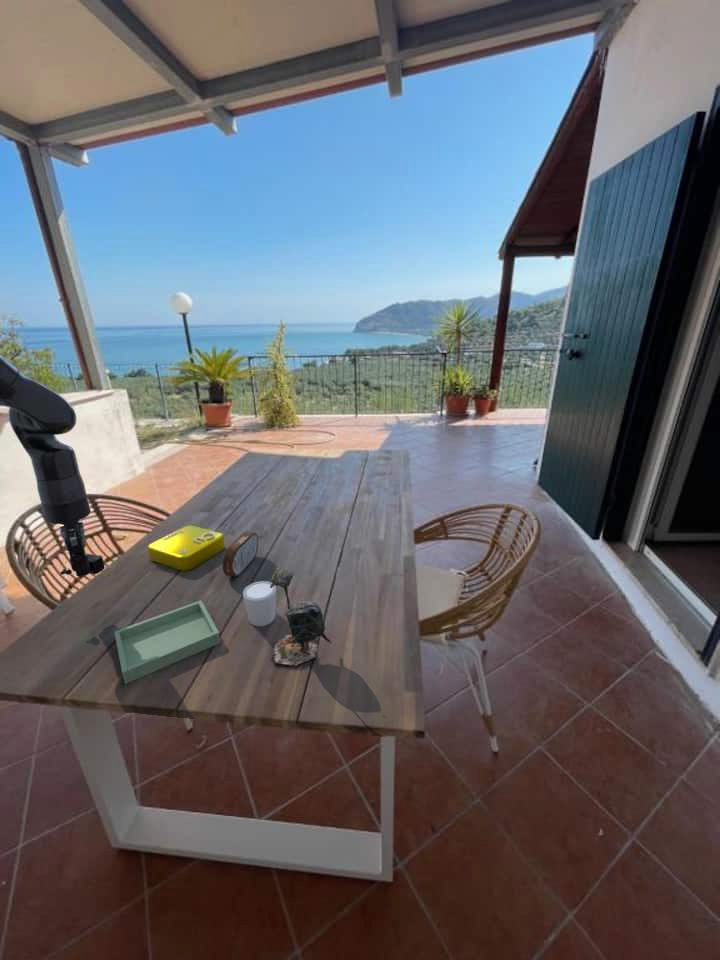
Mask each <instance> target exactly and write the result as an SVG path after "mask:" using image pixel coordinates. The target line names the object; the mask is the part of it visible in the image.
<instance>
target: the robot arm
mask: <svg viewBox="0 0 720 960" xmlns="http://www.w3.org/2000/svg"><path fill="white" fill-rule="evenodd" d="M0 406H2V407H6V408H8V420H9V424H10V427H11V429H12V431H13V432H14V434H15V436H16V438H17V439H18V441H19V443H20V445H21V446H22V447H23V449H24V451H25V452H26V453H27V455H28V456H29V458H30V461H31V465H32V469H33V473H34V476H35V479H36V486H37V492H38V496H39V499H40V503H41V504H40V505H41V507H42V510H43V514H44V518H45V521H46V522H47V523H49V524H52V525H60V526H59V528H60V530H59V532H60V537H61V538H62V539H63V542H64V546H65V547H64V548H65V551H66V552H68V555H69V558H71V559H69V562H70V561H71V562H72V563H74V567H75V571H76V572H75V571H74V572H75V574H76V576H77V578H81V577H83V576H88V575H89V568H88V564H87V560H86V558H87V555H86V554H87V552H86V548H87V541H86V536H85V535H86V534H85V533H86V532H85V525H84V522H83V521H84V519H86V518H87V517H89V516H90V514H91V507H90V503H89V499H88V494H87V491H86V486H85V483H84V480H83V477H82V475H81V472H80V467H79V463H78V459H77V455H76V451H75V450H74V448H73V447H72V446H70V445H69V444H65V443H63V442H61V441H60V440H59V439H58V438H57V436H58V435H64V434H67V433H69V432H71V431H72V430H73V429H74V428H75V426H76V423H77V414H76V411H75V409H74V408H73V406H72V404H70V402H69V401H68V400H67V399H65V398H64V397H63V396H62V395H61V394H58V393H57V392H55V391H54V390H52V389H51V388H48V387H47V386H45V385H44V384H42V383H41V382H38V381H37V380H35V379H33V378H31V377H30V376H27V375H26V374H24V373H23V372H22V371H21V370H20V369H19V368H18V367H16V365H14V364H13V363H12V362H10V361H9V360H8V359H6V357H4V356H3V355H2V354H0ZM80 520H83V521H80ZM78 553H82V554H79V555H76V554H78ZM74 555H75V556H74Z"/></svg>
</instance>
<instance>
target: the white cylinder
mask: <svg viewBox="0 0 720 960" xmlns="http://www.w3.org/2000/svg"><path fill="white" fill-rule="evenodd" d="M271 584H272V581H266V580H262V581H261V580H260V581H256V582H252V583H250V584H249V585H247V586H245V588H244V590H242V596H243V601H244V605H245V609H246V614H247V617H248V622H249V623H250V625H252V626H255V627H265V626H267V625H270V624H271V623H273V622H274V620H275V619H276V611H277V610H276V609H277V608H276V607H277V585H274V586H273V587H272V588H270V586H271Z"/></svg>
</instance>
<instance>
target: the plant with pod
mask: <svg viewBox="0 0 720 960" xmlns="http://www.w3.org/2000/svg"><path fill="white" fill-rule="evenodd" d="M293 575H294V572H293V571H291V570H289V569H288V568H285V567H281V566H277V568H276V569H275V572H274V573H273V575H272V577H271V583H272V584H271V586H270V588H272V587H273V586H274V585H275V586H280V587H281V588H283V590H284V594H285V597H286V603H287V611H286V613H285V616H286V619H287V623H288V626H289V629H290V631H291V634H287V635H285V637H284V638H280V639H278V641H276V642H275V643H274V647H273V651H272V655H271V658H270V661H271V662H272V663H274V664H280V665H288V666H289V665H290V666H292V665H293V667H296V666H298V665H300V664H303V663H306V662H309V661H310V660H313V659H316V658H317V657H318V643H319V641H318V640H317V638H319V637H322V638H323V639H324V640H325V641H327V642H328V643H329V644H332V640H331V638H329V637H327V635H326V634H325V630H326V625H325V617H324V614H323V611H322V609H321V607H320V605H319V604H318V603H317V602H315V601H313V600H304V601H300V602H296V603H294V605H291V604H290V603H291V602H290V597H289V595H288V594H289V586H290V585H291V582H292V578H293ZM290 606H291V607H290Z"/></svg>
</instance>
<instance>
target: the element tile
mask: <svg viewBox="0 0 720 960" xmlns="http://www.w3.org/2000/svg"><path fill="white" fill-rule="evenodd" d="M225 545H226V544H225V538H224V534H223V533H222V532H218V531H214V530H211V529H207V528H203V527H200V526H197V525H189V524H188V525H186V526H183V527H182V528H179V529H177V530H175V531H173V532H170V533H169V534H167V535H165V536H163V537H161V538H158V539H156V540H155V541H153V542H151V543H150V544H148V545H147V550H148V554H149V559H150V561H152V562H154V561H155V562H154V563H157V562H158V563H157V564H160V565H163V566H166V567H168V568H172V569H175V570H178V571H180V572H188V571H190V570H193V569H195V568H196V567H198V566H199V565H201V564H202V563H204V562H205V561H207V560H209V559H210V558H213V557H214V556H216V555H217V554H219V553H220V552H222V551H223V550H224V549H225V548H226V547H225Z"/></svg>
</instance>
